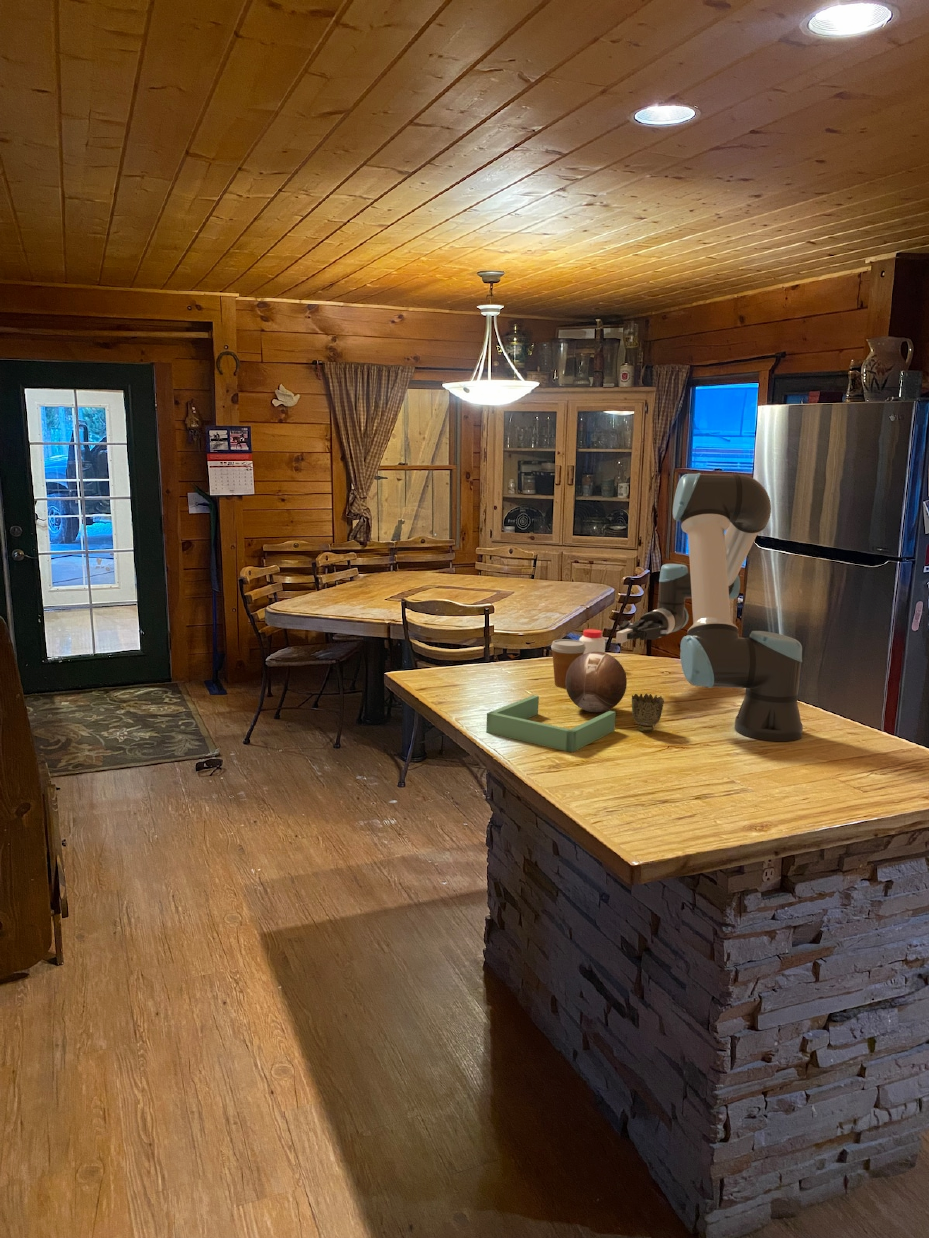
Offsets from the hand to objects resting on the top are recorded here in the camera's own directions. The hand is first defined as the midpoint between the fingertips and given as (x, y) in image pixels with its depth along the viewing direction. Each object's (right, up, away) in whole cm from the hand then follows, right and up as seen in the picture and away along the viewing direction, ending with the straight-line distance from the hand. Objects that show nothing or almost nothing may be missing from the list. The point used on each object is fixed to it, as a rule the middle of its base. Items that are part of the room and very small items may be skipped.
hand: (618, 637), depth 235 cm
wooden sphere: (-7, -18, -7) cm, 21 cm away
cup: (+2, -21, -22) cm, 31 cm away
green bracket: (-19, -21, -24) cm, 38 cm away
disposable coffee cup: (-12, -14, +17) cm, 25 cm away
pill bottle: (-2, -10, +40) cm, 41 cm away
